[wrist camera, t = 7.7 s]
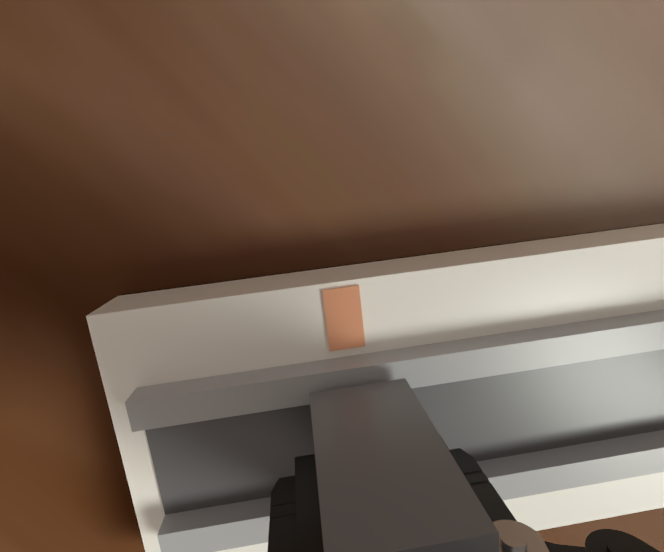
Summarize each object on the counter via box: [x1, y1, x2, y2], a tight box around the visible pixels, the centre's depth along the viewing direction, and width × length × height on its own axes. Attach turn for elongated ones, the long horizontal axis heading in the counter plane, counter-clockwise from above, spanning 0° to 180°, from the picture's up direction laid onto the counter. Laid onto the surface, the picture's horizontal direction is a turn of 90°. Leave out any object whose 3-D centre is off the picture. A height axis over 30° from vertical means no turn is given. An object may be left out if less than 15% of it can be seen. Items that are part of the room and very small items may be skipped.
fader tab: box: [309, 378, 500, 552], centre depth 11 cm, size 3×5×7 cm, turn 7°
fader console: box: [86, 223, 664, 552], centre depth 16 cm, size 24×11×4 cm, turn 97°
